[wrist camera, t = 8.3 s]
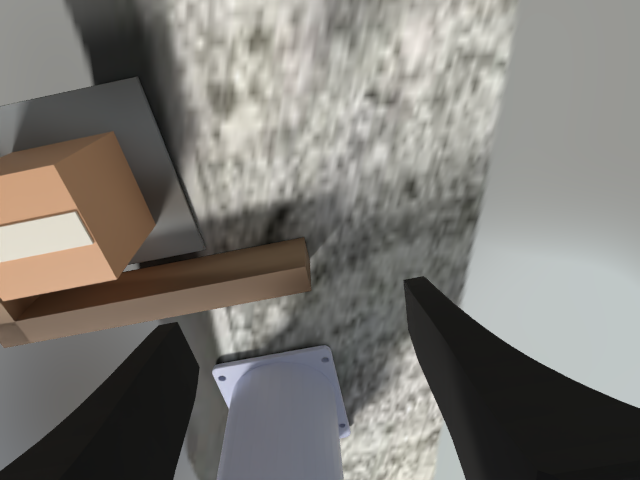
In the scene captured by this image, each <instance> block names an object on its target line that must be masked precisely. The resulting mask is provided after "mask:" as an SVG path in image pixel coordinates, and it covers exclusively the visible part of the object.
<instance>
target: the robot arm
mask: <svg viewBox="0 0 640 480" xmlns="http://www.w3.org/2000/svg"><path fill="white" fill-rule="evenodd" d="M404 290H405V300H406V310H407V320H408V330H409V333H410V336H411V340H412V343H413V346H414V349H415V353H416V356H417V359H418V361H419V364H420V366H421V368H422V370H423V373H424V375H425V377H426V380H427V382H428V384H429V386H430V389H431V391H432V393H433V395H434V398H435V400H436V402H437V404H438V407H439V409H440V411H441V413H442V416H443V418H444V420H445V422H446V425H447V427H448V430H449V432H450V435H451V437H452V440H453V442H454V446H455V449H456V452H457V455H458V457H459V460H460V463H461V466H462V469H463V472H464V475H465V478H466V480H640V408H637V407H635V406H632V405H629V404H627V403H624V402H622V401H619V400H617V399H614V398H612V397H610V396H608V395H605V394H603V393H601V392H598V391H596V390H593V389H592V388H589V387H587V386H585V385H583V384H581V383H579V382H576V381H574V380H572V379H570V378H568V377H566V376H564V375H562V374H560V373H558V372H557V371H555V370H553V369H551V368H549V367H547V366H545V365H543V364H541V363H539V362H537V361H536V360H534V359H532V358H530V357H528V356H527V355H525V354H524V353H522V352H520V351H518V350H517V349H515V348H514V347H512V346H511V345H509V344H507V343H506V342H504V341H503V340H501V339H500V338H498V337H497V336H496V335H494V334H493V333H491V332H490V331H489V330H487V329H486V328H484V327H483V326H482V325H480V324H479V323H478V322H476V321H475V320H474V319H472V318H471V317H470V316H469V315H468V314H466V313H465V312H464V311H463V310H461V309H460V308H459V307H458V306H456V305H455V304H454V303H453V302H452V301H451V300H449V299H448V298H447V297H446V296H445V295H444V294H443V293H442V292H440V291H439V290H438V289H437V288H436V287H435V286H434V285H433V284H432V283H431V282H430V281H429V280H428V279H426V278H425V277H424V276H422V277H417V278H412V279H406V280H404ZM324 357H327V358H324ZM212 374H213V376H214V378H215V380H216V382H217V385H218V387H219V389H220V391H221V393H222V395H223V397H224V399H225V401H226V404H227V406H228V408H229V413H228V419H227V424H226V430H225V436H224V441H223V447H222V453H221V458H220V464H219V469H218V475H217V480H344V477H343V468H342V458H341V448H340V439H339V438H345V437H348V436H349V435H350V427H349V422H348V418H347V414H346V410H345V406H344V402H343V398H342V393H341V389H340V385H339V381H338V377H337V373H336V369H335V364H334V360H333V356H332V352H331V349H330V347H328V346H326V345H322V346H316V347H310V348H305V349H299V350H294V351H288V352H283V353H277V354H271V355H266V356H260V357H255V358H249V359H243V360H238V361H232V362H227V363H221V364H217V365H215V366H214V367H213V371H212ZM198 375H199V365H198V363H197V361H196V359H195V357H194V355H193V353H192V351H191V349H190V347H189V345H188V343H187V341H186V339H185V336H184V334H183V332H182V330H181V328H180V326H179V324H178V322H174V323H169V324H163V325H159V326H158V327H157V328H155V329H154V330H153V331H152V332H151V333H150V334H149V335H148V336H147V337H146V338H145V340H144V341H143V342H142V343H141V344H140V345H139V346H138V347H137V348H136V349H135V350H134V351H133V352H132V353H131V354H130V355H129V356H128V358H127V359H126V360H125V361H124V362H123V363H122V364H121V365H120V366H119V367H118V368H117V369H116V370H115V371H114V372H113V373H112V374H111V375H110V376H109V377H108V378H107V379H106V380H105V381H104V382H103V383H102V385H100V386H99V387H98V388H97V389H96V390H95V391H94V392H93V393H92V394H91V395H90V396H89V397H88V398H87V399H86V400H85V401H84V402H83V403H82V404H81V405H80V406H79V407H78V408H77V409H75V410H74V411H73V412H72V413H71V414H70V415H69V416H68V417H67V418H66V419H64V420H63V421H62V422H61V423H60V424H59V425H58V426H56V427H55V428H54V429H53V430H52V431H51V432H49V433H48V434H47V435H46V436H45V437H44V438H42V439H41V440H40V441H39V442H37V443H36V444H35V445H34V446H32V447H31V448H30V449H28V450H27V451H26V452H25V453H24V454H22V455H21V456H19V457H18V458H17V459H15V460H14V461H13V462H12V463H10V464H9V465H8V466H6V467H5V468H4V469H3V470H1V471H0V480H173V478H174V474H175V470H176V466H177V463H178V459H179V456H180V452H181V448H182V445H183V441H184V438H185V434H186V431H187V427H188V424H189V420H190V416H191V412H192V409H193V405H194V401H195V397H196V390H197V384H198Z"/></svg>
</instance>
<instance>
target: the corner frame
mask: <svg viewBox="0 0 640 480" xmlns="http://www.w3.org/2000/svg"><path fill="white" fill-rule="evenodd" d="M111 131H114V134H115V136H116V138H117V140H118V142H119V145H120V147H121V149H122V151H123V153H124V156H125V158H126V160H127V162H128V164H129V167H130V169H131V171H132V173H133V175H134V178H135V180H136V182H137V184H138V186H139V189H140V191H141V193H142V195H143V197H144V200H145V202H146V204H147V206H148V208H149V211H150V213H151V215H152V217H153V219H154V222H155V224H156V226H155V227H154V228H153V230H152V231H151V233H150V234H149V235H148V237H147V238H146V240H145V241H144V242H143V244H142V245H141V247H140V248H139V249H138V251H137V252H136V254H135V255H134V256H133V258H132V259H131V261H130V262H129V263H128V265H130V264H135V263H140V262H145V261H150V260H156V259H161V258H166V257H171V256H176V255H181V254H187V253H192V252H197V251H202V250H205V249H206V248H205V245H204V243H203V240H202V238H201V235H200V232H199V230H198V227H197V225H196V222H195V220H194V217H193V215H192V212H191V210H190V207H189V205H188V202H187V199H186V197H185V194H184V192H183V189H182V187H181V184H180V182H179V179H178V177H177V174H176V172H175V169H174V166H173V164H172V161H171V159H170V156H169V154H168V151H167V149H166V146H165V144H164V141H163V139H162V136H161V133H160V131H159V128H158V126H157V123H156V121H155V118H154V116H153V113H152V111H151V108H150V106H149V103H148V100H147V98H146V95H145V93H144V90H143V88H142V85H141V83H140V80H139V78H138V76H137V77H133V78H128V79H123V80H119V81H114V82H110V83H105V84H100V85H96V86H91V87H87V88H82V89H77V90H73V91H68V92H63V93H59V94H54V95H50V96H45V97H40V98H36V99H31V100H26V101H22V102H17V103H13V104H8V105H4V106H0V158H1V157H3V156H5V155H7V154H10V153H12V152H17V151H22V150H26V149H31V148H36V147H40V146H45V145H50V144H55V143H59V142H64V141H69V140H74V139H78V138H83V137H88V136H93V135H97V134H102V133H107V132H111ZM308 291H311V275H310V259H309V255H308V251H307V247H306V242H305V238H304V237H303V238H297V239H292V240H287V241H282V242H277V243H271V244H266V245H261V246H256V247H251V248H246V249H240V250H235V251H230V252H225V253H220V254H214V255H209V256H204V257H199V258H194V259H188V260H183V261H178V262H173V263H168V264H163V265H157V266H152V267H147V268H142V269H137V270H131V271H126V272H122V273H121V275H120V276H119V277H118V279H116V280H111V281H106V282H101V283H96V284H90V285H85V286H80V287H75V288H70V289H64V290H59V291H54V292H49V293H44V294H39V295H33V296H28V297H23V298H18V299H13V300H7V301H3V300H2V299H1V298H0V343H1V345H2V346H3V347H4V348H7V347H12V346H18V345H23V344H28V343H34V342H39V341H45V340H50V339H55V338H61V337H66V336H72V335H77V334H82V333H87V332H93V331H98V330H104V329H109V328H115V327H120V326H125V325H130V324H136V323H141V322H147V321H152V320H158V319H163V318H168V317H174V316H179V315H184V314H190V313H195V312H201V311H206V310H211V309H217V308H222V307H227V306H233V305H238V304H244V303H249V302H254V301H260V300H265V299H270V298H276V297H281V296H287V295H292V294H297V293H303V292H308Z"/></svg>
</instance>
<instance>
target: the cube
mask: <svg viewBox="0 0 640 480" xmlns="http://www.w3.org/2000/svg"><path fill="white" fill-rule="evenodd" d="M155 226H156V224H155V222H154V219H153V217H152V215H151V213H150V211H149V208H148V206H147V204H146V202H145V200H144V197H143V195H142V193H141V191H140V189H139V186H138V184H137V182H136V180H135V178H134V175H133V173H132V171H131V169H130V167H129V164H128V162H127V160H126V158H125V156H124V153H123V151H122V149H121V147H120V145H119V142H118V140H117V138H116V136H115V134H114V131H111V132H107V133H102V134H97V135H93V136H88V137H83V138H78V139H74V140H69V141H64V142H59V143H55V144H50V145H45V146H40V147H36V148H31V149H26V150H22V151H17V152H12V153H10V154H7V155H5V156H3V157H1V158H0V298H1V299H2V300H3V301H7V300H13V299H18V298H23V297H28V296H33V295H39V294H44V293H49V292H54V291H59V290H64V289H70V288H75V287H80V286H85V285H90V284H96V283H101V282H106V281H111V280H116V279H118V277H119V276H120V275H121V273H122V272H123V270H124V269H125V268H126V266H127V265H128V263H129V262H130V261H131V259H132V258H133V256H134V255H135V254H136V252H137V251H138V249H139V248H140V247H141V245H142V244H143V242H144V241H145V240H146V238H147V237H148V235H149V234H150V233H151V231H152V230H153V228H154V227H155Z"/></svg>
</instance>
